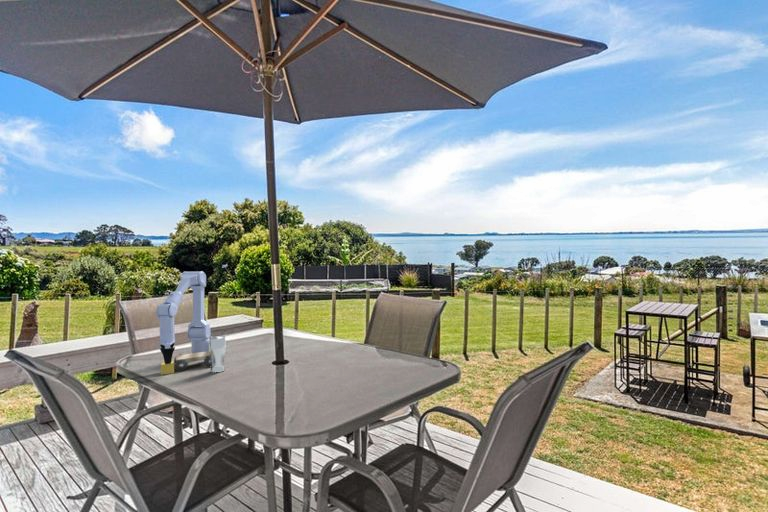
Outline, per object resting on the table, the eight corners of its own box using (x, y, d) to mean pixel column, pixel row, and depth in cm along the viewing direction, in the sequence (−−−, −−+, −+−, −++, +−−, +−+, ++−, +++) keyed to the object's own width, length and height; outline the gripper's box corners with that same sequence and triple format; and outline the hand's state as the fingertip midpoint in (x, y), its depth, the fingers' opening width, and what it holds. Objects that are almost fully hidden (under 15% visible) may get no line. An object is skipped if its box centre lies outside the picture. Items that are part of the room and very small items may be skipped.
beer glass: (205, 372, 172) (205, 338, 172) (219, 368, 178) (218, 335, 178) (216, 374, 169) (215, 339, 169) (229, 370, 175) (229, 336, 175)
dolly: (213, 360, 192) (213, 340, 192) (216, 366, 181) (216, 345, 181) (174, 365, 183) (174, 344, 183) (175, 372, 173) (174, 350, 173)
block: (173, 370, 175) (173, 360, 175) (174, 373, 172) (173, 363, 172) (161, 372, 173) (160, 362, 173) (161, 375, 169) (160, 364, 169)
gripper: (156, 329, 176) (157, 359, 177) (156, 335, 164) (157, 367, 164) (174, 327, 180) (175, 356, 180) (175, 333, 167) (176, 364, 168)
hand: (167, 361), depth 172 cm, fingers open, 7 cm apart
